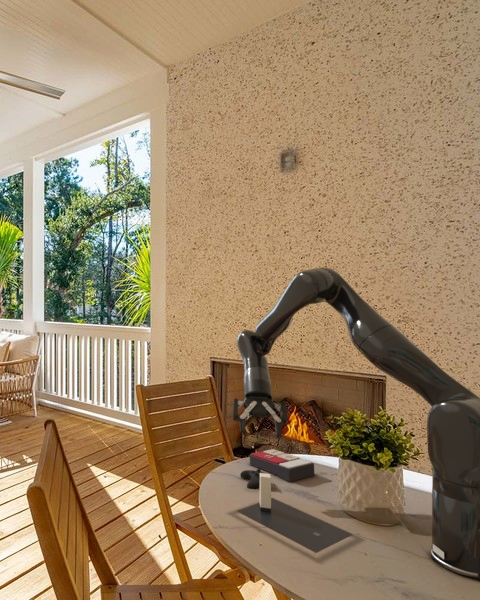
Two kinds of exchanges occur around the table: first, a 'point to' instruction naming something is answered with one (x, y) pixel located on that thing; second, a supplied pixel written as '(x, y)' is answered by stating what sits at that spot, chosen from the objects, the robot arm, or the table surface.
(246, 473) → the game controller
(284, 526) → the tablet
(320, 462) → the table surface
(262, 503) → the tall cream square pillar
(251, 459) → the calculator
